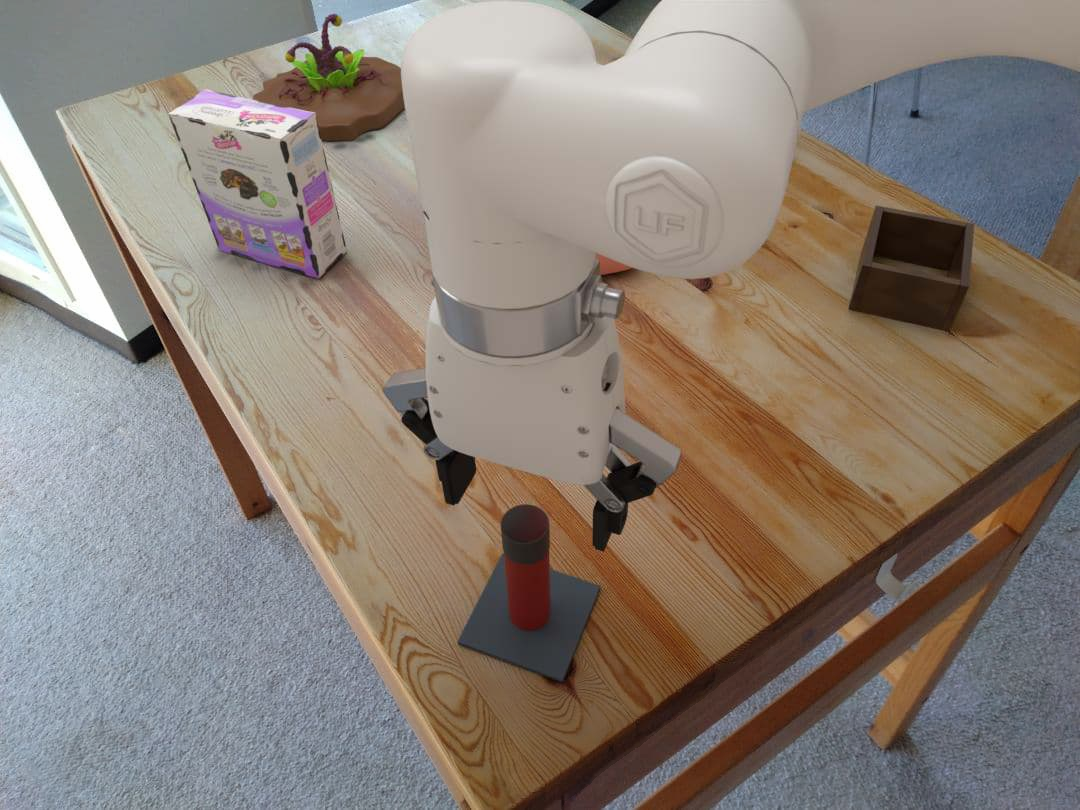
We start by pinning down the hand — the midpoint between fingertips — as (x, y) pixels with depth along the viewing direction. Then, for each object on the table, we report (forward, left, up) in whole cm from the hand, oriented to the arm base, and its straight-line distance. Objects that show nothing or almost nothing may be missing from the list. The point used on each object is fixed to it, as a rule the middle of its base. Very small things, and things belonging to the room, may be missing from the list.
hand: (532, 509), depth 52 cm
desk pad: (0, 0, -13) cm, 13 cm away
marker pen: (+1, 0, -13) cm, 13 cm away
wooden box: (-21, -49, -13) cm, 55 cm away
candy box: (+43, -32, -13) cm, 55 cm away
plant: (+55, -64, -13) cm, 85 cm away
